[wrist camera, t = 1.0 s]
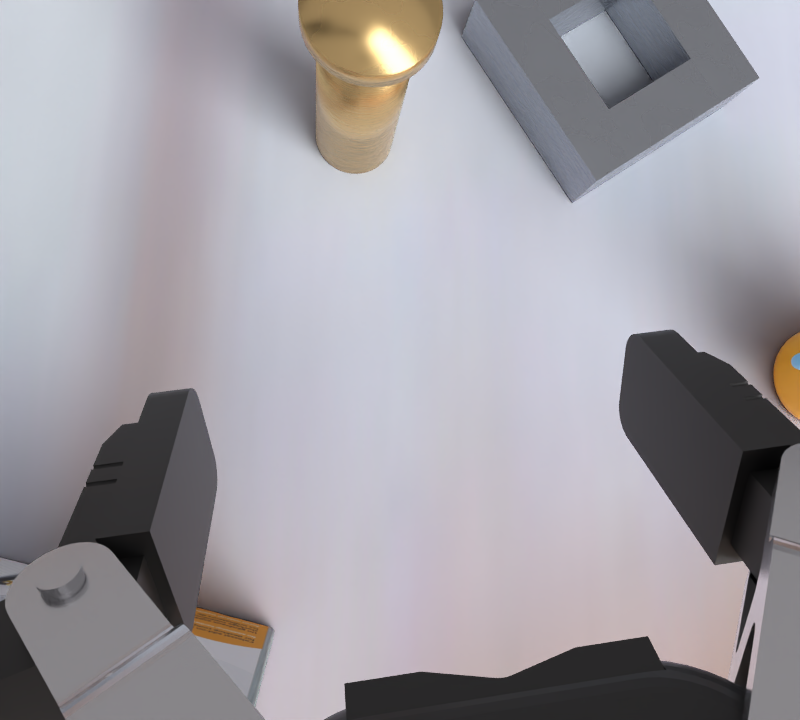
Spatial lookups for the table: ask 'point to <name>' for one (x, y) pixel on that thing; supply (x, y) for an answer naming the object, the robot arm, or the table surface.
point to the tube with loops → (789, 375)
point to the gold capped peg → (364, 71)
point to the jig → (577, 97)
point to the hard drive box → (208, 639)
